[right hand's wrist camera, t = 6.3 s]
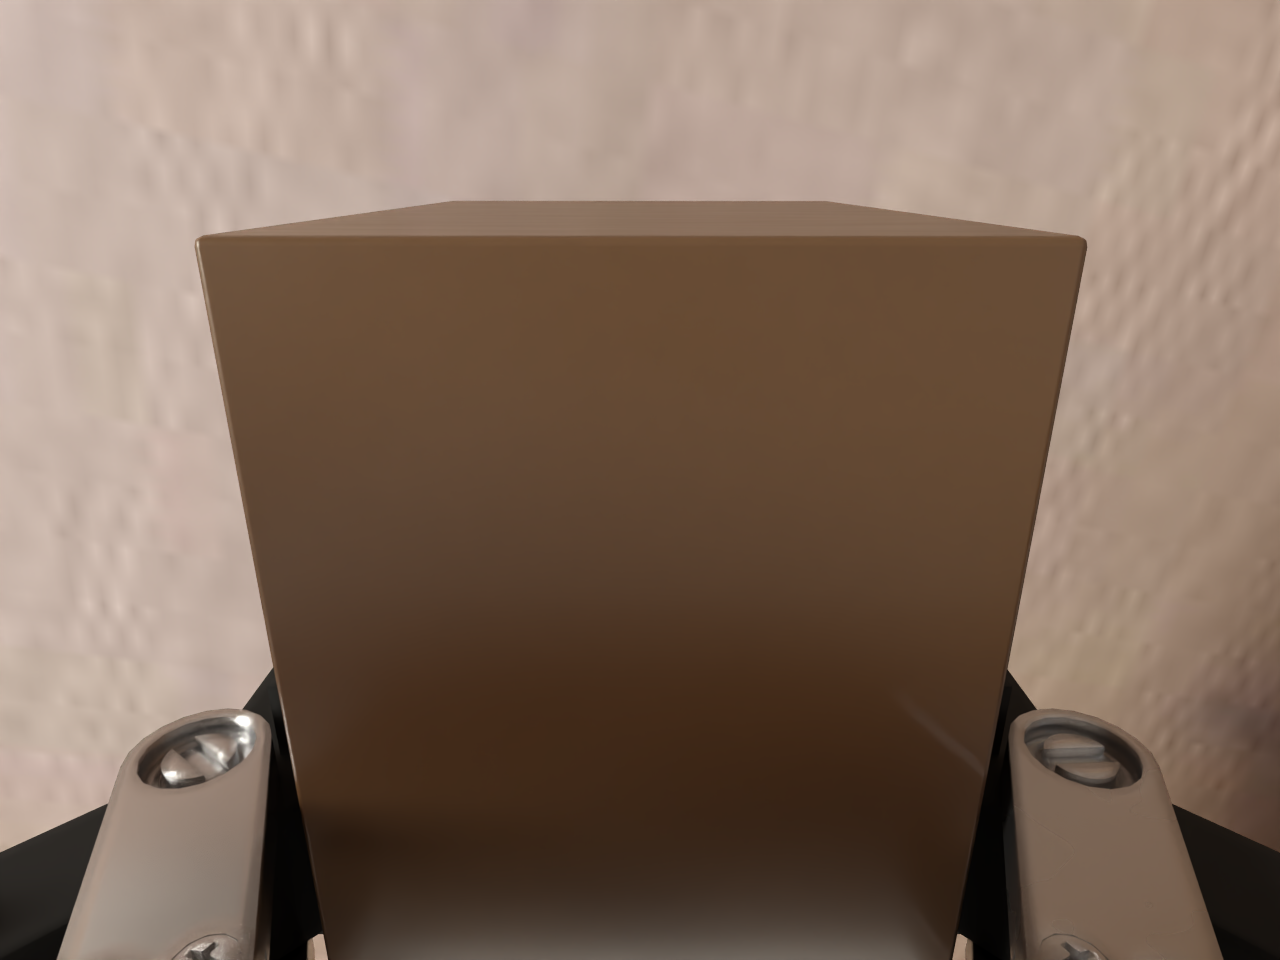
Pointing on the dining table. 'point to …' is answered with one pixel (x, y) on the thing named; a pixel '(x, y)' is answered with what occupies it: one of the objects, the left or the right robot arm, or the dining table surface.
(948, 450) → the post
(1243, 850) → the right robot arm
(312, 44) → the dining table surface
